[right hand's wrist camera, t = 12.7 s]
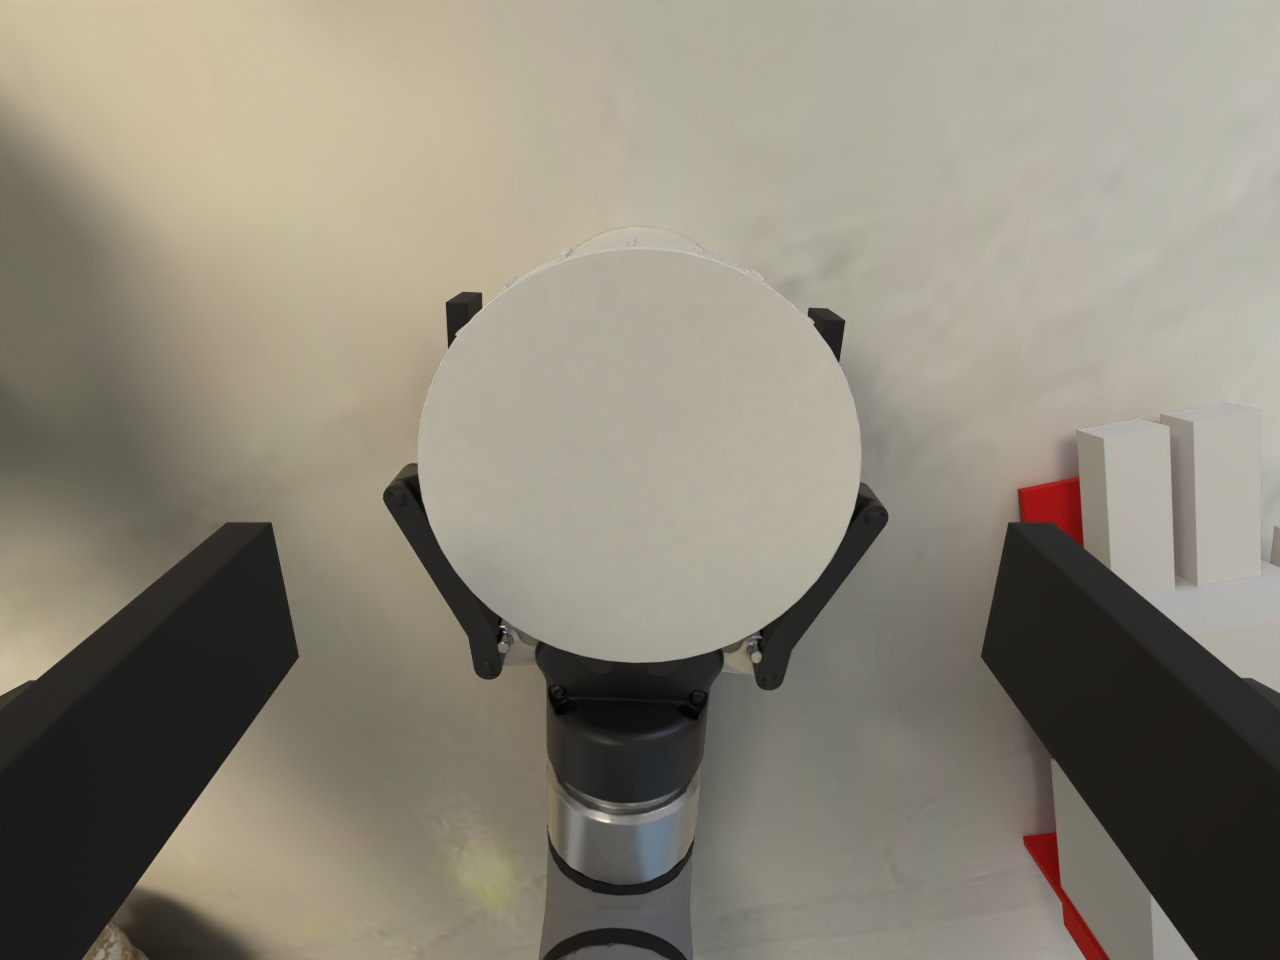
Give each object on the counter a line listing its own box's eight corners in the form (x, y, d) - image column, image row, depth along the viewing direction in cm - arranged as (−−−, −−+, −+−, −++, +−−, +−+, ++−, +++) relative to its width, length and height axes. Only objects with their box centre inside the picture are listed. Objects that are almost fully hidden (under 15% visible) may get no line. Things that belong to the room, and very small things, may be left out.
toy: (1442, 414, 26) (1407, 1066, 33) (1184, 373, 39) (1198, 848, 46) (1088, 478, 27) (1126, 1098, 34) (951, 418, 40) (999, 876, 47)
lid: (666, 680, 23) (669, 730, 21) (361, 474, 20) (329, 507, 18) (925, 420, 20) (959, 448, 18) (603, 137, 17) (598, 131, 15)
